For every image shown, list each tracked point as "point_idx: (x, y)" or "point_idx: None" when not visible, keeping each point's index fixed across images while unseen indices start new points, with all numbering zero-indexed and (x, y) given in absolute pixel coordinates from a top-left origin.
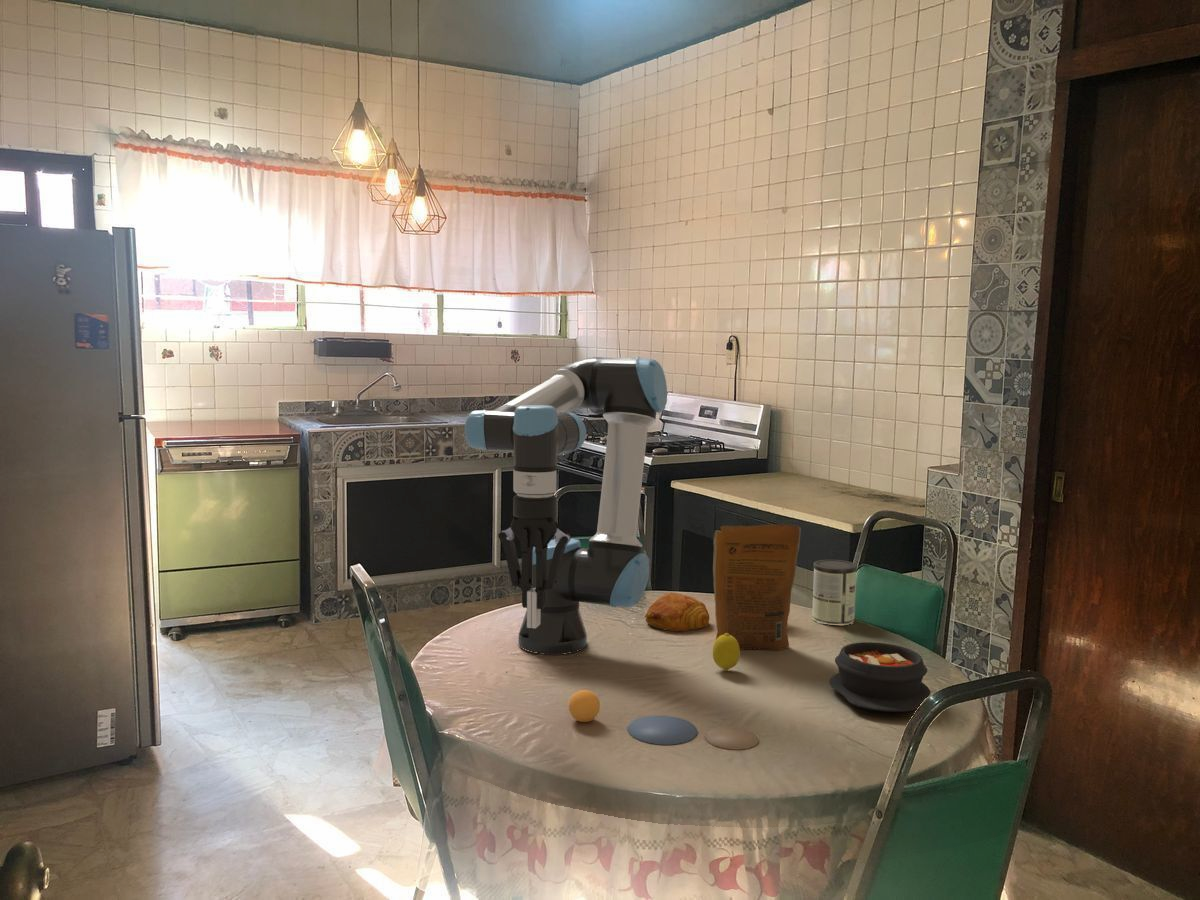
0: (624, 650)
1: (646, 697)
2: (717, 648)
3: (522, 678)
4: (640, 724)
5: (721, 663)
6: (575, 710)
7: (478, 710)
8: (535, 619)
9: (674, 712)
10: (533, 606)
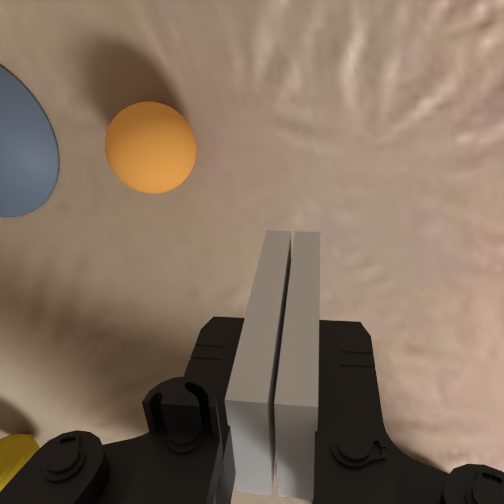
0: (235, 490)
1: (98, 302)
2: (8, 468)
3: (404, 342)
4: (32, 151)
5: (15, 439)
6: (158, 105)
7: (478, 116)
8: (260, 258)
9: (9, 243)
10: (266, 312)
